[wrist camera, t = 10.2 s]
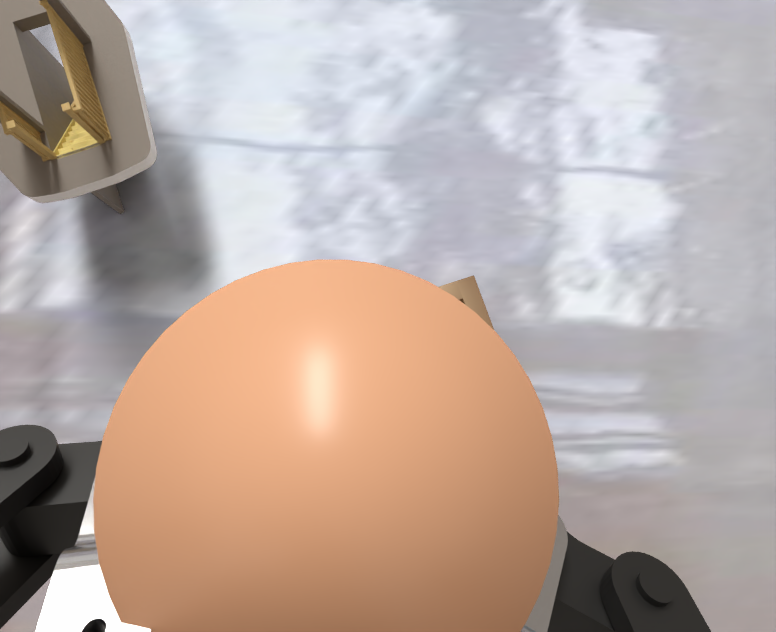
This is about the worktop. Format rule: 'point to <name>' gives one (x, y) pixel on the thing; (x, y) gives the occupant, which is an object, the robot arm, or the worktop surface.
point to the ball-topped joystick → (327, 464)
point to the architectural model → (70, 102)
